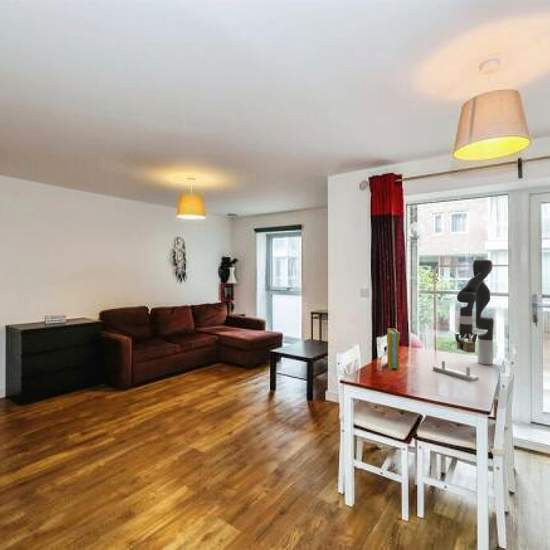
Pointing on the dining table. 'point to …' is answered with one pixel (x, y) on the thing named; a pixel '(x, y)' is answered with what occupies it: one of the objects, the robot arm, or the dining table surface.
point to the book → (393, 348)
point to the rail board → (456, 372)
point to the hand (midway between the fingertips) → (465, 349)
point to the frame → (467, 346)
